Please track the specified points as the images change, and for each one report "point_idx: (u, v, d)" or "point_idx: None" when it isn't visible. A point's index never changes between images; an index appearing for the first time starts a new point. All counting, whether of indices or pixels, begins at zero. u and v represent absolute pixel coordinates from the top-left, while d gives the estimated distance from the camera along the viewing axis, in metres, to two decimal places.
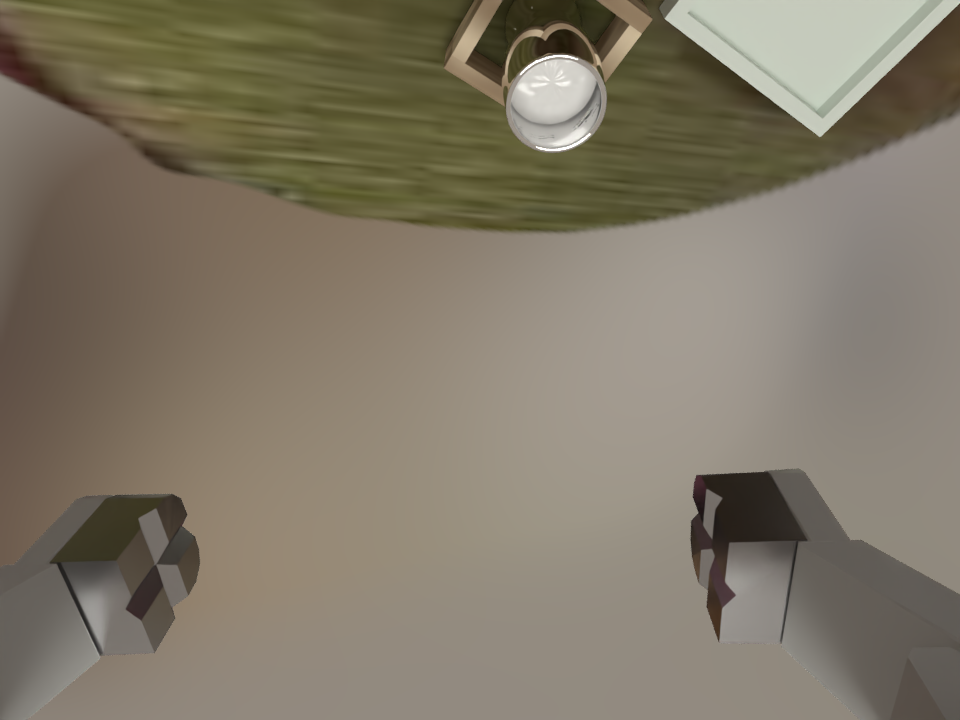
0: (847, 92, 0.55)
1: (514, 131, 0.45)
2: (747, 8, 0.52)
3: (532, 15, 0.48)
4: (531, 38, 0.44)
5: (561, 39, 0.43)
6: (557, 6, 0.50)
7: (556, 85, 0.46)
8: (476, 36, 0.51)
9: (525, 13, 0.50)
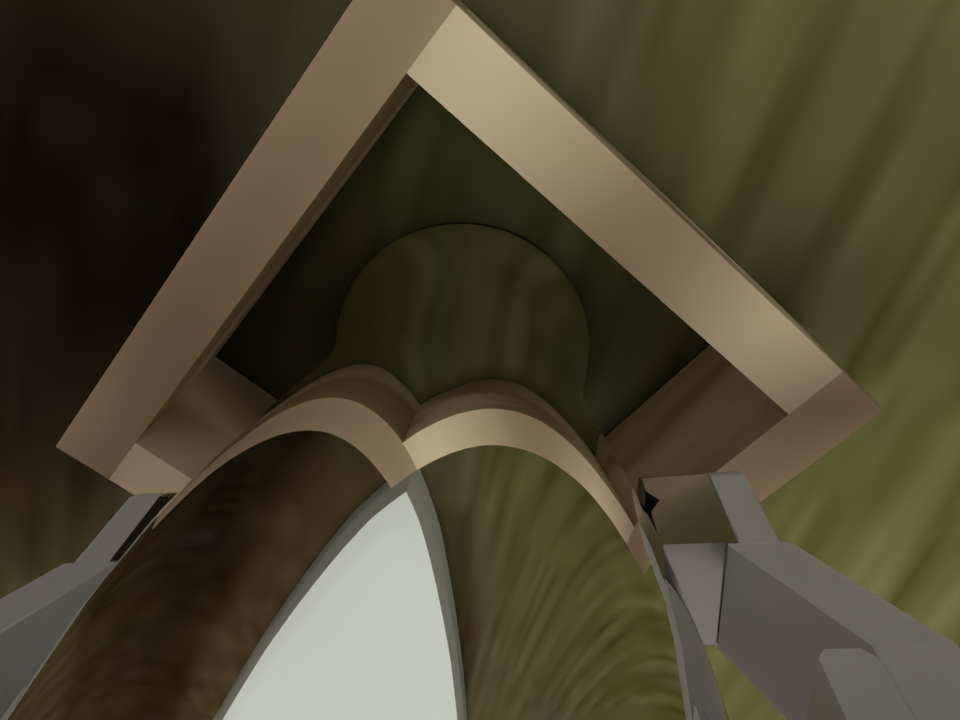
0: None
1: None
2: None
3: None
4: None
5: None
6: None
7: None
8: None
9: None
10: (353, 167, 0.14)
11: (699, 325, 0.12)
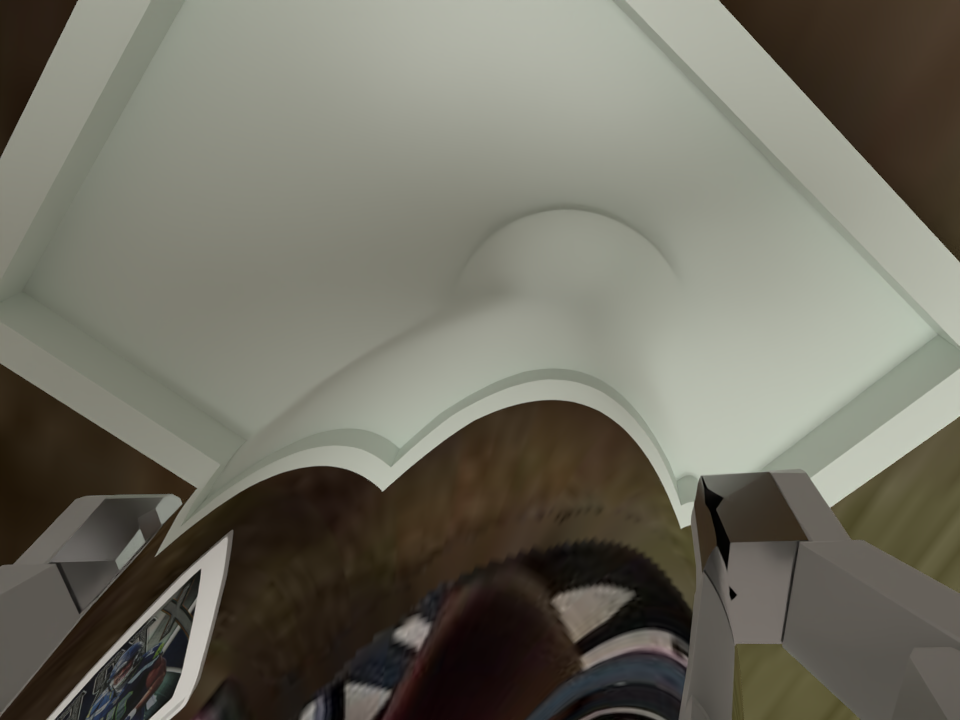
0: (905, 292, 0.16)
1: None
2: None
3: None
4: None
5: None
6: None
7: None
8: None
9: None
10: None
11: None
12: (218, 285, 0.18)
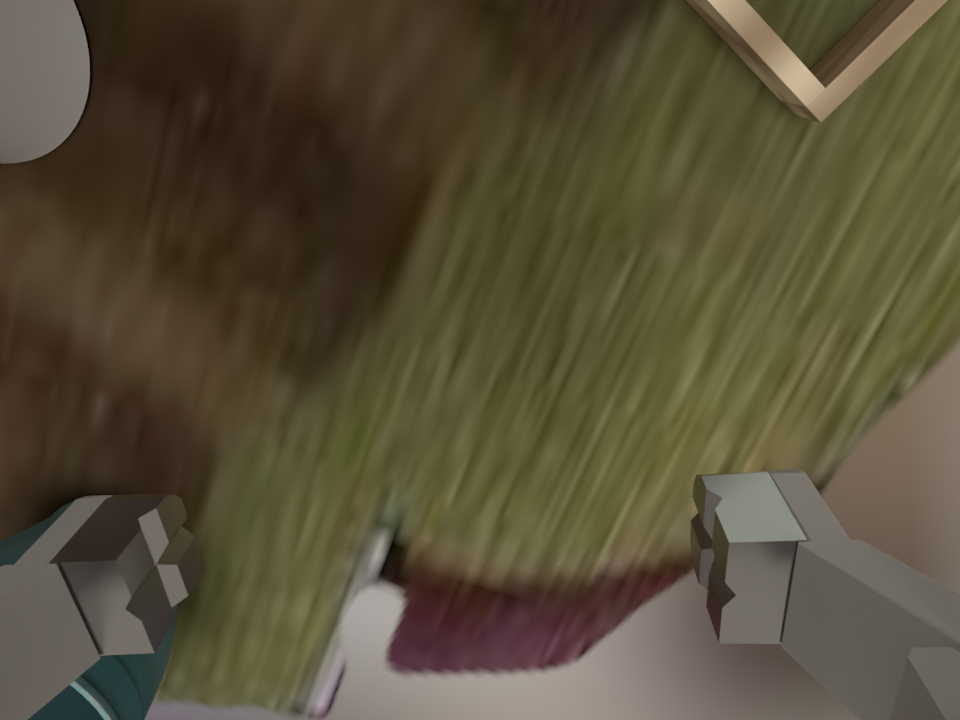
0: None
1: None
2: None
3: None
4: None
5: None
6: None
7: None
8: (794, 63, 0.35)
9: None
10: None
11: None
12: None
